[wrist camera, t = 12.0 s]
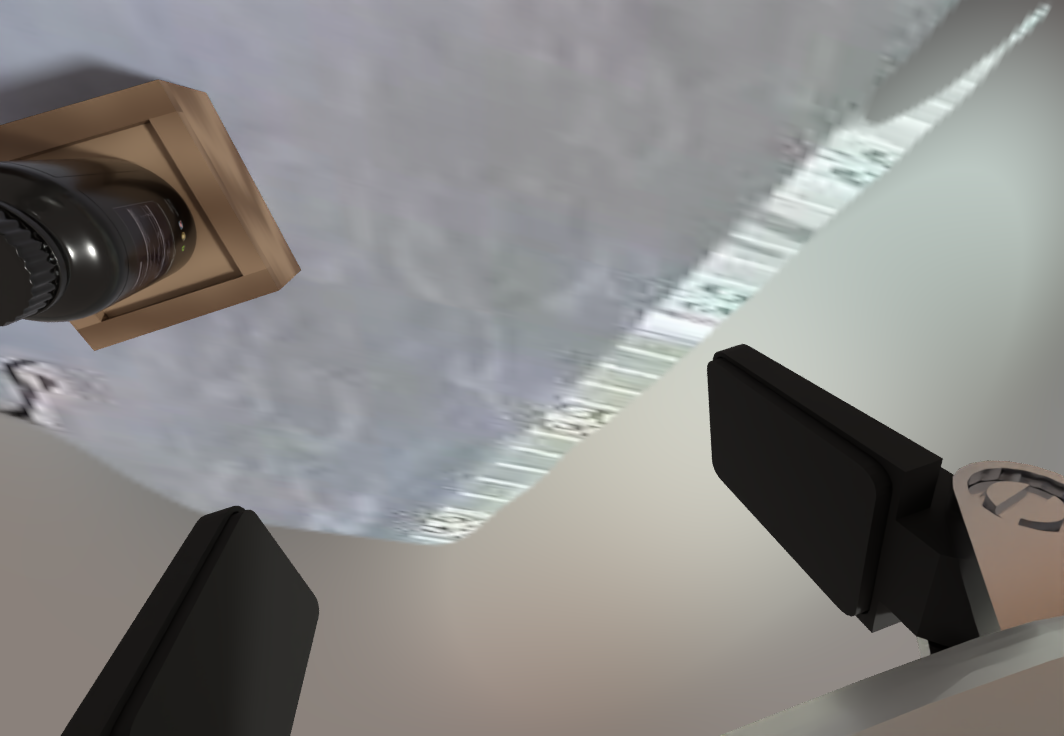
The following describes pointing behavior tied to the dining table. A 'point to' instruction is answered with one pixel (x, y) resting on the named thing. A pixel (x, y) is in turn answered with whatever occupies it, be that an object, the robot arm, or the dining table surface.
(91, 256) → the supplement bottle
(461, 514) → the dining table surface
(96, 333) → the display plinth
